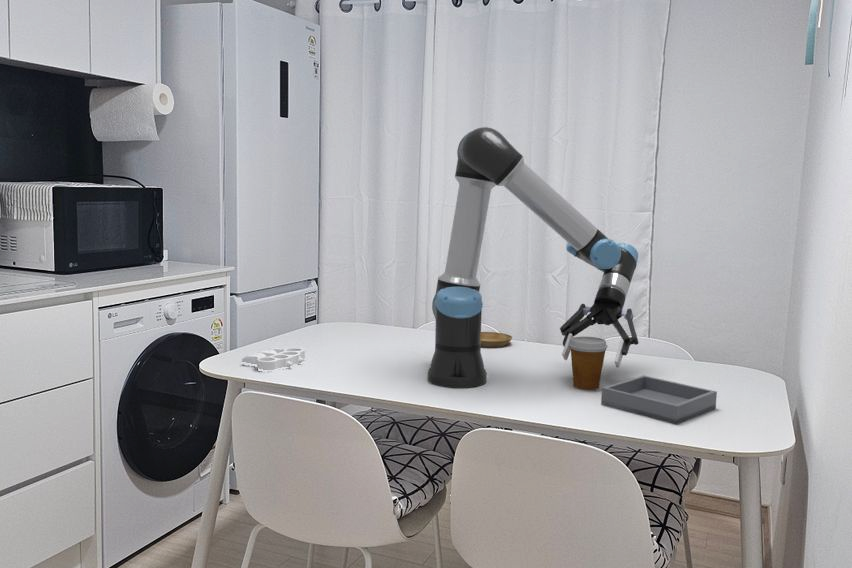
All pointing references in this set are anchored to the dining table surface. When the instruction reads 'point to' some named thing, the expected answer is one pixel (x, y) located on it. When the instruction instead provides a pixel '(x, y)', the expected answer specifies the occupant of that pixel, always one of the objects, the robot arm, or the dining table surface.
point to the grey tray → (659, 399)
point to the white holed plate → (276, 358)
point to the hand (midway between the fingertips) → (590, 360)
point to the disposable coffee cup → (587, 361)
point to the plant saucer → (494, 339)
